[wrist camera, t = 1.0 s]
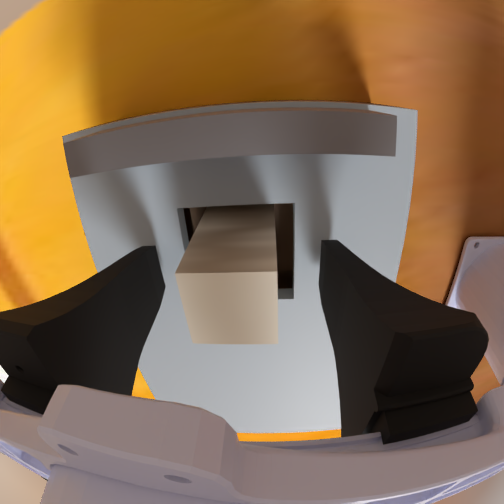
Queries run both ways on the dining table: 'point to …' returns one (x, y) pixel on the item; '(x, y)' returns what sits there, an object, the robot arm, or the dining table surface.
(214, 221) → the wooden block
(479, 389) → the dining table surface
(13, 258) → the dining table surface
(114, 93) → the dining table surface
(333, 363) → the toolbox lid
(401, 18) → the dining table surface
